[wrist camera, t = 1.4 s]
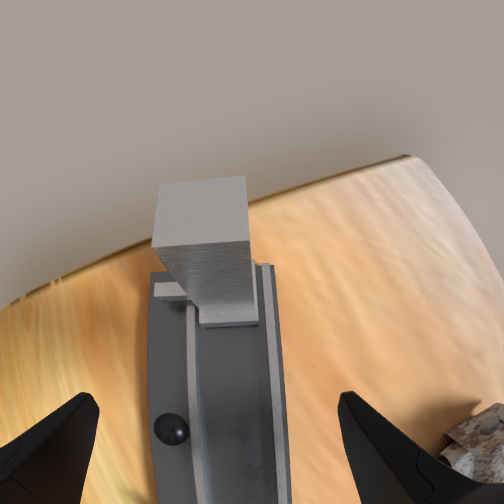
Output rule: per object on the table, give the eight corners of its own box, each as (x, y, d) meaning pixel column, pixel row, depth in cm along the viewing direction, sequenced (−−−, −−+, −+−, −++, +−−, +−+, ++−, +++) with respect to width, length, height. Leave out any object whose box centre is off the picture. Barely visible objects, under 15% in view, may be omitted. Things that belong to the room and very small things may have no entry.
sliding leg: (258, 324, 20) (257, 258, 9) (162, 328, 20) (75, 269, 9) (254, 268, 22) (249, 163, 11) (164, 273, 22) (97, 182, 11)
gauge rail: (292, 548, 12) (297, 574, 8) (174, 545, 12) (159, 568, 8) (273, 272, 23) (275, 247, 19) (157, 279, 23) (137, 256, 19)
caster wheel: (399, 516, 14) (398, 445, 17) (491, 471, 12) (497, 397, 15) (414, 552, 8) (421, 478, 11) (519, 493, 6) (536, 409, 9)
